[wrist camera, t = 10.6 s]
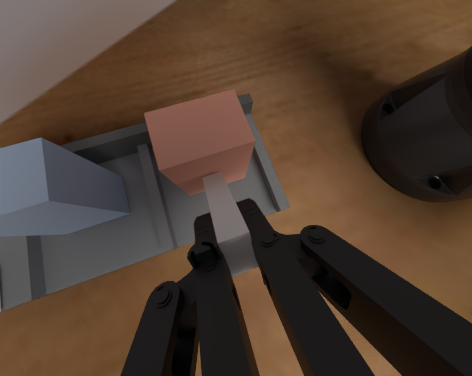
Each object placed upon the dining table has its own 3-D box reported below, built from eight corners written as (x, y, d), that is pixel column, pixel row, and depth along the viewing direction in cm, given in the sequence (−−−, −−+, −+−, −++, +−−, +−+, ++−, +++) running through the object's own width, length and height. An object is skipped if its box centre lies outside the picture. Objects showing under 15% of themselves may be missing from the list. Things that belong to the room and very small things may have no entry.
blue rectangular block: (122, 176, 18) (41, 137, 10) (130, 213, 17) (48, 200, 9) (61, 195, 17) (-74, 168, 10) (66, 234, 17) (-77, 239, 9)
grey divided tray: (245, 120, 22) (249, 93, 18) (281, 210, 20) (297, 204, 15) (-79, 214, 18) (-177, 210, 14) (-84, 342, 16) (-206, 385, 11)
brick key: (232, 145, 19) (234, 88, 12) (244, 178, 18) (255, 140, 11) (179, 161, 19) (143, 113, 11) (189, 196, 18) (159, 170, 10)
